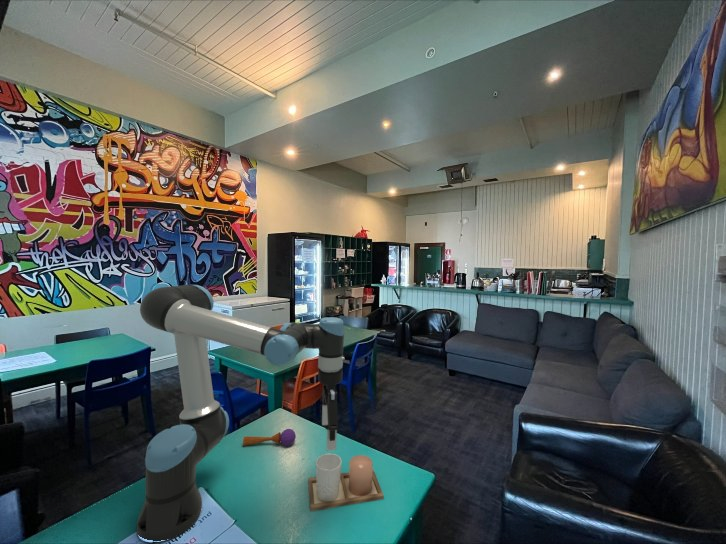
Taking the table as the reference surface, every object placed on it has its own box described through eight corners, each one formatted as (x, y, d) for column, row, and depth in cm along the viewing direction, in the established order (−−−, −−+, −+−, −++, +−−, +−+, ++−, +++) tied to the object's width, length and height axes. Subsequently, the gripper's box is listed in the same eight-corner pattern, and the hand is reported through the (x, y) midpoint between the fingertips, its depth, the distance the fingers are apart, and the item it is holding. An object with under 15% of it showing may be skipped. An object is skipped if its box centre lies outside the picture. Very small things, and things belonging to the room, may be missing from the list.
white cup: (328, 508, 85) (329, 474, 85) (309, 495, 90) (310, 462, 90) (345, 491, 92) (346, 460, 91) (327, 480, 96) (328, 450, 96)
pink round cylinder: (351, 498, 89) (351, 472, 89) (346, 480, 96) (347, 456, 96) (374, 494, 91) (375, 468, 91) (368, 477, 98) (369, 453, 98)
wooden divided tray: (310, 515, 84) (310, 507, 84) (308, 484, 96) (308, 478, 96) (383, 502, 89) (383, 495, 89) (373, 475, 101) (373, 468, 101)
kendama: (246, 430, 119) (296, 425, 121) (246, 446, 118) (296, 441, 120) (241, 436, 113) (293, 431, 115) (241, 452, 113) (294, 447, 114)
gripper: (350, 383, 79) (347, 460, 80) (336, 355, 104) (334, 414, 104) (322, 385, 78) (320, 464, 78) (315, 356, 102) (313, 416, 102)
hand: (328, 436), depth 91 cm, fingers open, 13 cm apart
